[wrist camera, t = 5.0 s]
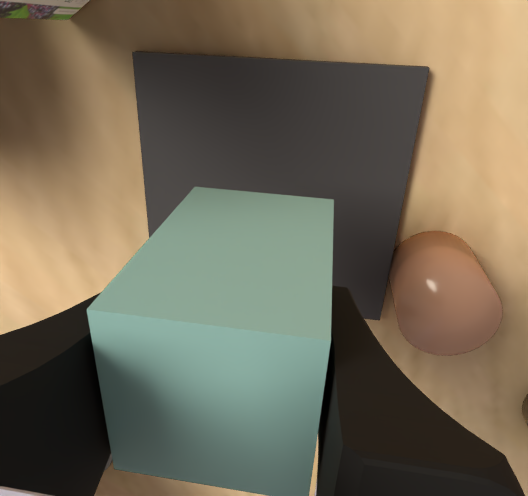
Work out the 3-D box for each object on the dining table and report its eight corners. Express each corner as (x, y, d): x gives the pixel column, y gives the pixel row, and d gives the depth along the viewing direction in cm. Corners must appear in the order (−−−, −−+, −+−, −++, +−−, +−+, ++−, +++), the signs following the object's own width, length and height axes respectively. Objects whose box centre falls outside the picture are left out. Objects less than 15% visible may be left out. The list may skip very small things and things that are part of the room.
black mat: (378, 314, 23) (379, 320, 22) (157, 288, 24) (154, 293, 24) (426, 66, 17) (429, 67, 17) (137, 51, 19) (132, 52, 18)
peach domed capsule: (463, 307, 22) (487, 361, 18) (381, 297, 22) (390, 349, 19) (484, 235, 20) (515, 280, 17) (395, 226, 21) (407, 268, 17)
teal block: (319, 316, 16) (307, 501, 10) (198, 301, 16) (113, 469, 10) (333, 199, 14) (330, 340, 8) (194, 186, 14) (86, 309, 8)
